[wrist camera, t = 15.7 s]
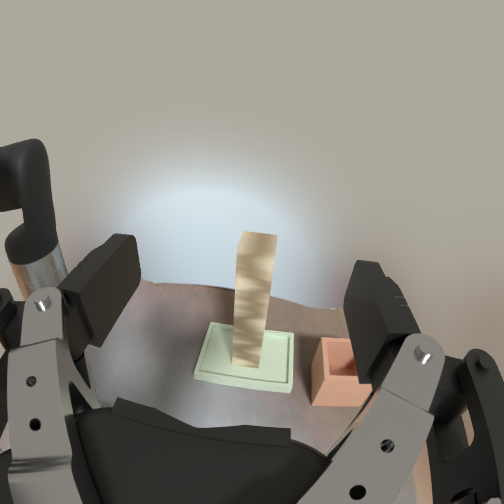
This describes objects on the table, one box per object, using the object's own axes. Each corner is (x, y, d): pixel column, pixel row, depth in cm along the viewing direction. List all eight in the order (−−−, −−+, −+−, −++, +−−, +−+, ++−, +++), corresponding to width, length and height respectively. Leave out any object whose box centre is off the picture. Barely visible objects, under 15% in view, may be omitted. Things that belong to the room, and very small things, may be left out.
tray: (194, 379, 37) (193, 373, 36) (210, 328, 47) (210, 321, 46) (290, 393, 36) (292, 387, 35) (292, 339, 46) (293, 333, 45)
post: (231, 364, 39) (237, 247, 29) (236, 345, 43) (243, 230, 33) (258, 368, 39) (275, 252, 29) (261, 348, 42) (277, 235, 32)
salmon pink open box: (311, 405, 34) (324, 379, 31) (310, 366, 41) (321, 336, 37) (359, 406, 34) (378, 380, 30) (354, 368, 40) (369, 340, 37)
